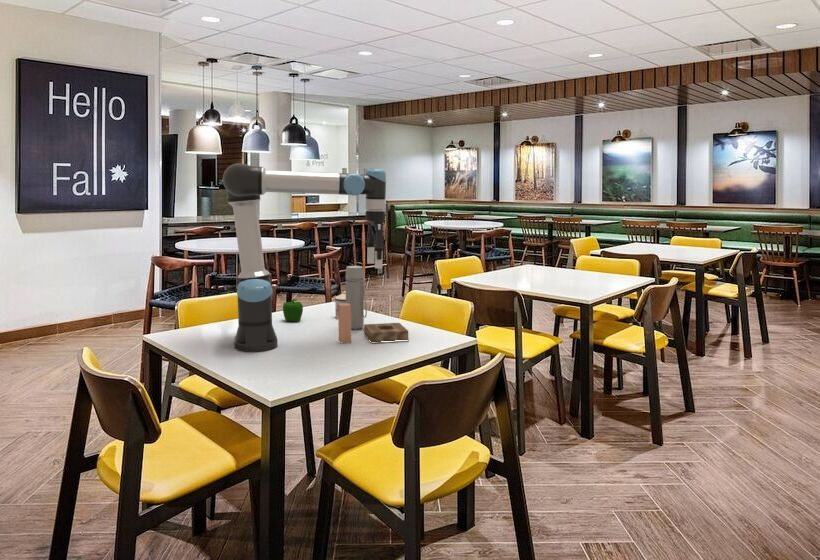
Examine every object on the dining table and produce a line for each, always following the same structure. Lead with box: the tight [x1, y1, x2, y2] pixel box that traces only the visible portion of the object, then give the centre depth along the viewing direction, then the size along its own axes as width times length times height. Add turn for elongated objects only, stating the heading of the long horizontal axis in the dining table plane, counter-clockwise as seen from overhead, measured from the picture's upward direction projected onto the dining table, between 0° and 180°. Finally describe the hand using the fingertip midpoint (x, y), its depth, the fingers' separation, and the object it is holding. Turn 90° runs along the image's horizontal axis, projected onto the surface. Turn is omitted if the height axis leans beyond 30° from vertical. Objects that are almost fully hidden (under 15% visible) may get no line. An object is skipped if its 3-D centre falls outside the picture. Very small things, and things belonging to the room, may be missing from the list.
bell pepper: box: [282, 298, 304, 323], centre depth 263 cm, size 8×8×10 cm
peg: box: [338, 303, 352, 343], centre depth 229 cm, size 4×4×14 cm
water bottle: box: [345, 265, 368, 330], centre depth 249 cm, size 9×8×25 cm
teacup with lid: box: [334, 290, 346, 320], centre depth 270 cm, size 12×9×12 cm
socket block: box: [363, 322, 409, 343], centre depth 236 cm, size 14×14×4 cm
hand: (374, 265), depth 240 cm, fingers open, 13 cm apart
